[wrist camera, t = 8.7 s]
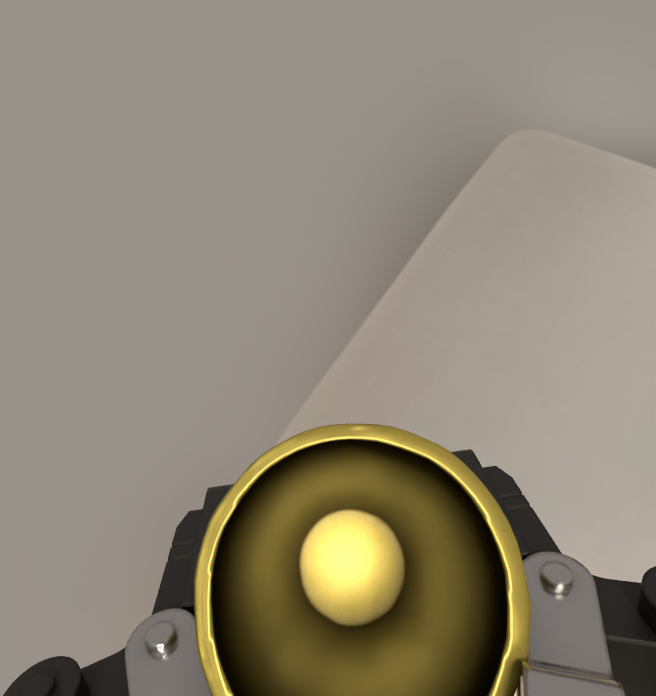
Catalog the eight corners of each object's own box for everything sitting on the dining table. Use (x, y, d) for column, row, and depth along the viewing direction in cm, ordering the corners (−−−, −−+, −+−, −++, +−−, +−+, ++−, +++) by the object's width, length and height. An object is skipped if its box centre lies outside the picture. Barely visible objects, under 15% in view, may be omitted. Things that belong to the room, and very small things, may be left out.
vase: (317, 680, 19) (252, 957, 6) (255, 528, 22) (107, 494, 8) (454, 602, 20) (656, 700, 7) (381, 463, 22) (430, 338, 9)
